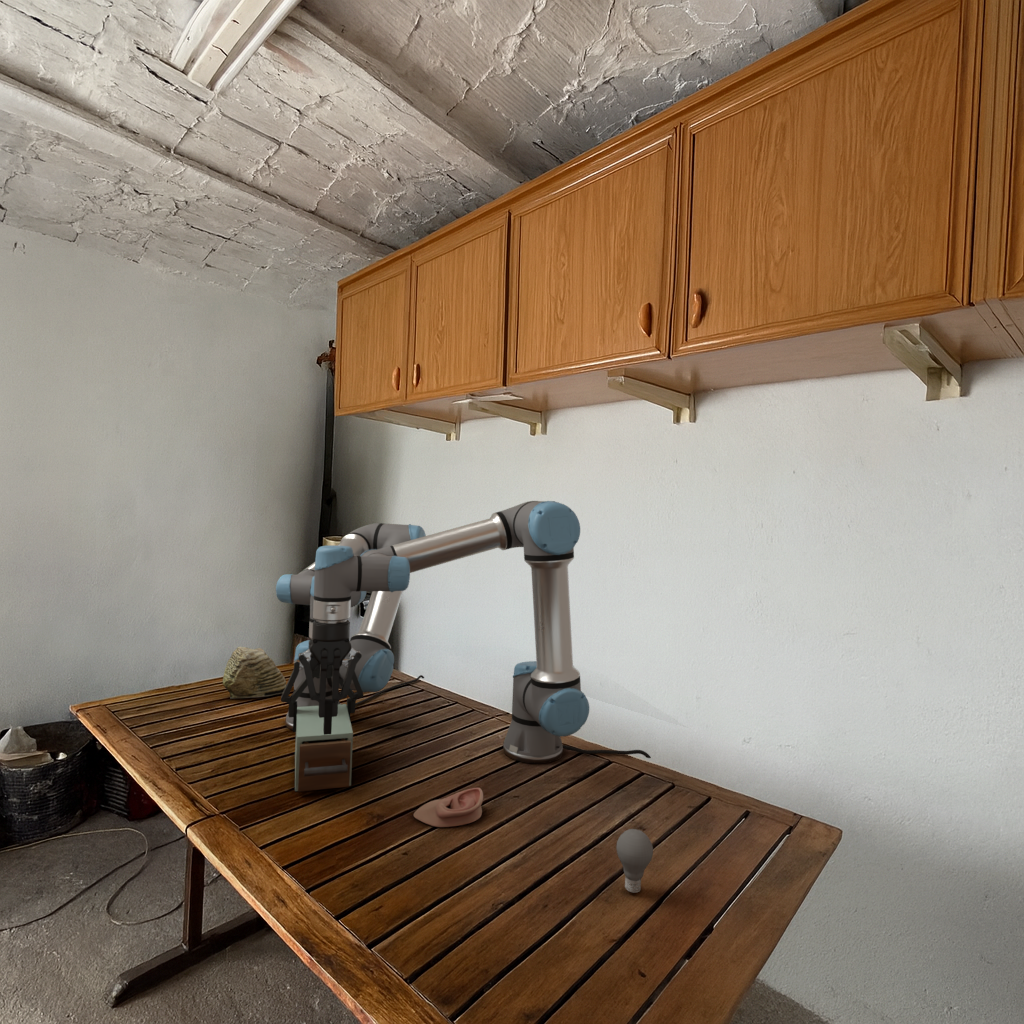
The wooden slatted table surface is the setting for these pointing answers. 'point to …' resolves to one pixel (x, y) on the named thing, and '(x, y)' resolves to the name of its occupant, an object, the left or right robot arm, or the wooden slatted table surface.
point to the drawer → (324, 764)
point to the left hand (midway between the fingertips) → (321, 728)
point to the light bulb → (634, 857)
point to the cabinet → (320, 730)
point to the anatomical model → (452, 809)
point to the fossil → (252, 674)
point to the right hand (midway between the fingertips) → (327, 731)
